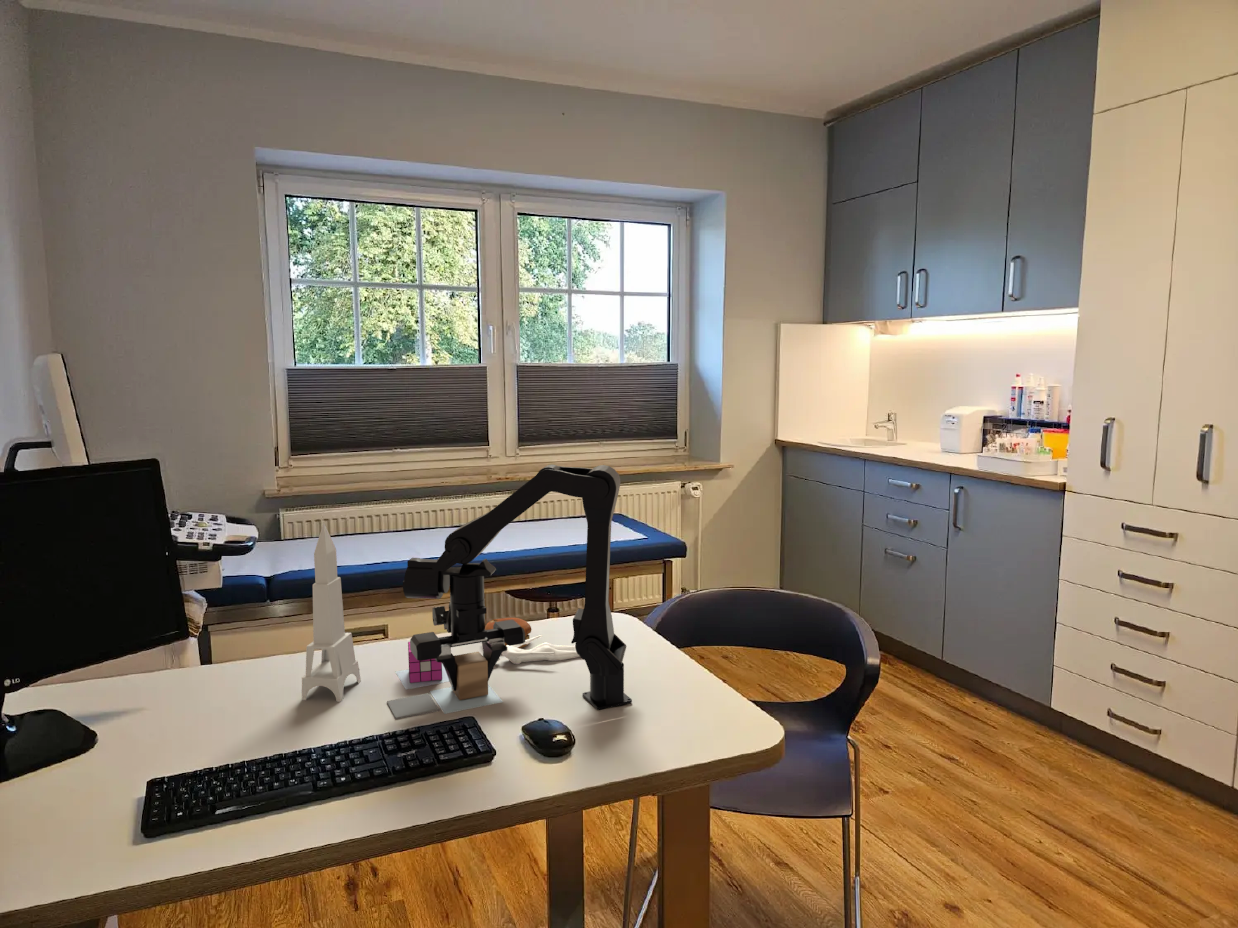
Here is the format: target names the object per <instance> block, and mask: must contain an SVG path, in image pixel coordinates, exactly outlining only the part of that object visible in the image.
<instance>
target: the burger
mask: <svg viewBox="0 0 1238 928" xmlns="http://www.w3.org/2000/svg"><path fill="white" fill-rule="evenodd" d="M512 619H513V620H514V621H515V622H516V623H518V624H519V625H520V626H521V627H522V628H523V629H524V631H525V640H527V639H530V638H531V637H530V634H531V633H532V626H531V624H530V623H528V621H526V620H524V619H522V618H519V617H503V618H495V619H492V620H489V621H488V622H487V623H486V624H485V630H490V629H493V625H494V623H495V622H499V621H506V620H512ZM504 644H505V645H508V644H506V643H505V642H504ZM529 644H530V643H528V644H524V645H521V646H520V647H518V648H520V649H523V648H525V647H527V646H528V645H529Z"/></svg>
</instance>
